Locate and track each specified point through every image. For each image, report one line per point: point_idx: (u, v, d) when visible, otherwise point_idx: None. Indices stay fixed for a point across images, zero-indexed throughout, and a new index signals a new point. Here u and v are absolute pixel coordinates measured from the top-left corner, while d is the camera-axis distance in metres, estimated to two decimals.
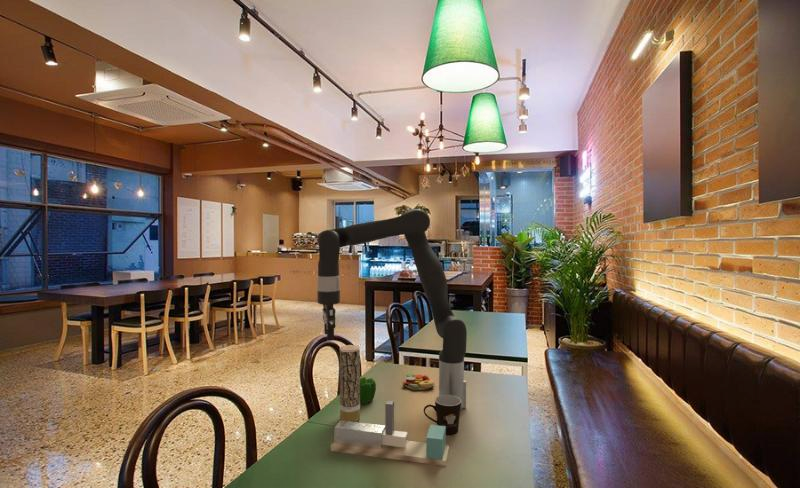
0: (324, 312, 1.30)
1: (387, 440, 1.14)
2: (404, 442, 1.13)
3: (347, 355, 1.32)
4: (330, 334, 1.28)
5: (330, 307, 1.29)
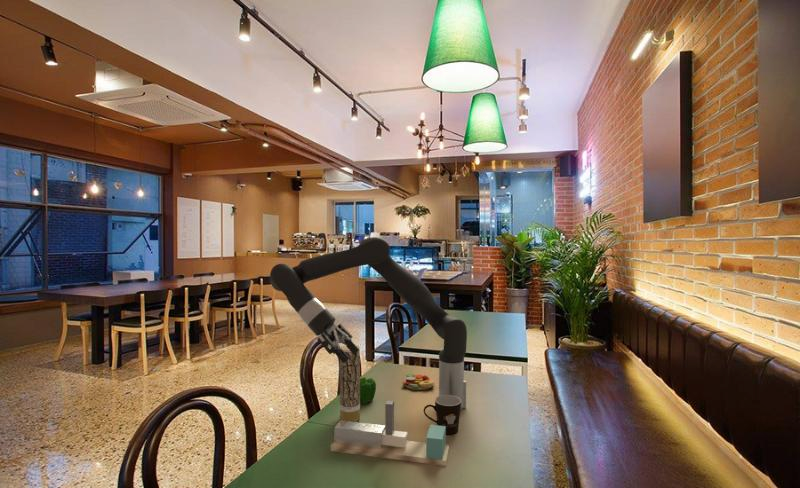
0: None
1: (387, 440, 1.14)
2: (404, 442, 1.13)
3: None
4: (340, 356, 1.13)
5: (323, 332, 1.16)
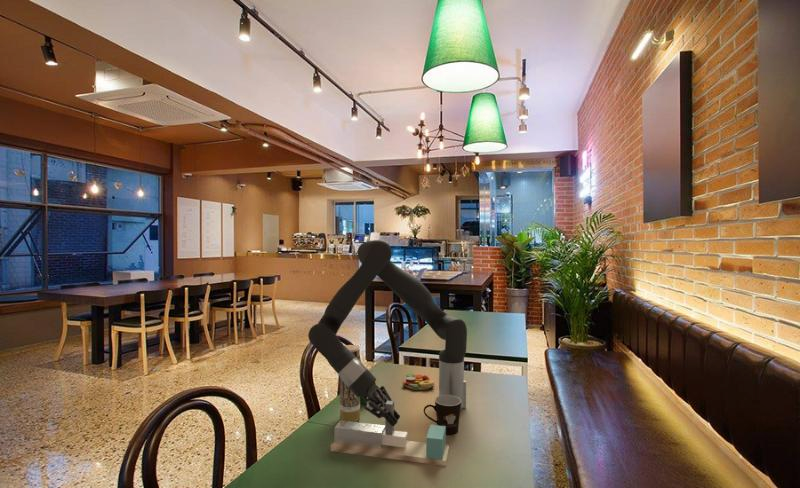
0: None
1: (387, 440, 1.14)
2: (404, 442, 1.13)
3: None
4: (389, 420, 1.13)
5: (366, 395, 1.13)
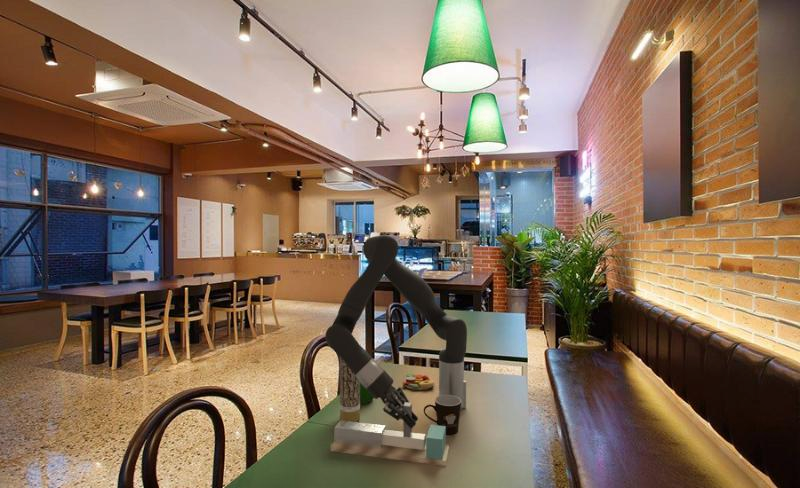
0: None
1: (405, 442, 1.13)
2: (422, 444, 1.12)
3: None
4: (407, 422, 1.12)
5: (384, 397, 1.12)
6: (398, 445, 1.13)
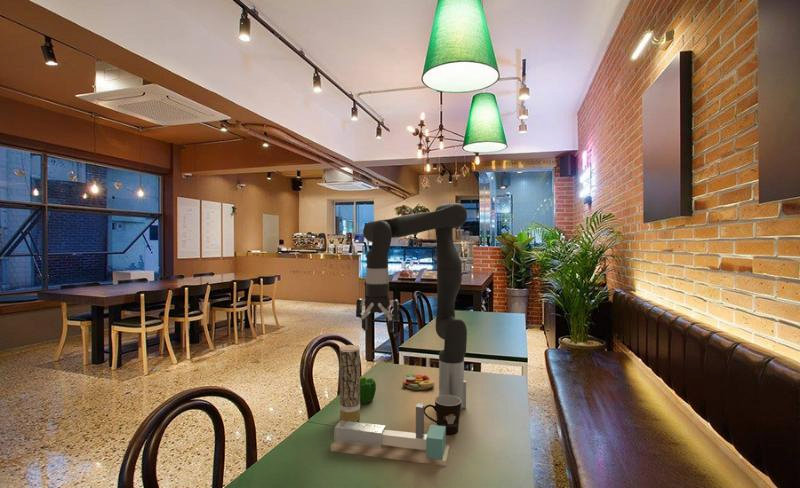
0: (382, 305, 1.27)
1: (418, 444, 1.12)
2: None
3: (347, 355, 1.32)
4: (393, 325, 1.28)
5: (388, 298, 1.29)
6: (410, 447, 1.13)
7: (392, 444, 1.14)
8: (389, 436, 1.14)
